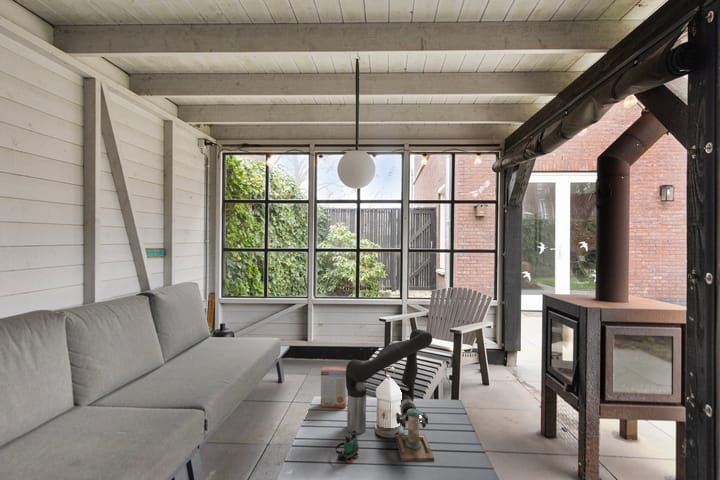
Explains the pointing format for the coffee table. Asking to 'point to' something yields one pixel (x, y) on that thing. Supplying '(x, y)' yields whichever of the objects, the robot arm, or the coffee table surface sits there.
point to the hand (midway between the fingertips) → (414, 425)
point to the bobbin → (413, 429)
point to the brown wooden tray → (414, 455)
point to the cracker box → (333, 387)
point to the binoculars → (349, 448)
